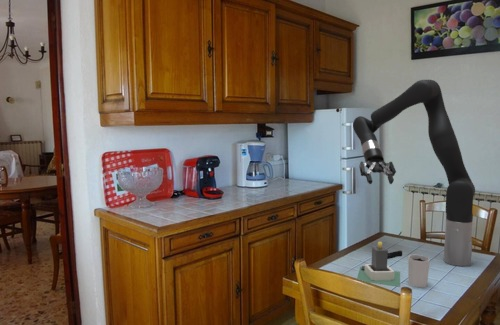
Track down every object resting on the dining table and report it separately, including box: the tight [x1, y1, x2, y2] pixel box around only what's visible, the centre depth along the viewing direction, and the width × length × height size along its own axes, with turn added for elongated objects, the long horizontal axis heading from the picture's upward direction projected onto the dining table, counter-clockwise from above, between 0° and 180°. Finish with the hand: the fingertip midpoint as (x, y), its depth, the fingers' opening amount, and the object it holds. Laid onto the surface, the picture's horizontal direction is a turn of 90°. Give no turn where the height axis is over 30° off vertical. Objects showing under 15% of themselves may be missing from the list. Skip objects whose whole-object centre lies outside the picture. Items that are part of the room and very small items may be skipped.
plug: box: [370, 241, 389, 271], centre depth 137 cm, size 4×4×12 cm
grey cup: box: [407, 254, 431, 288], centre depth 131 cm, size 7×7×10 cm
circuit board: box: [356, 265, 401, 288], centre depth 138 cm, size 14×14×2 cm
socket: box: [364, 263, 395, 281], centre depth 138 cm, size 8×8×3 cm
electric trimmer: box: [387, 250, 403, 260], centre depth 158 cm, size 4×15×3 cm, turn 120°
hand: (381, 182), depth 159 cm, fingers open, 8 cm apart
